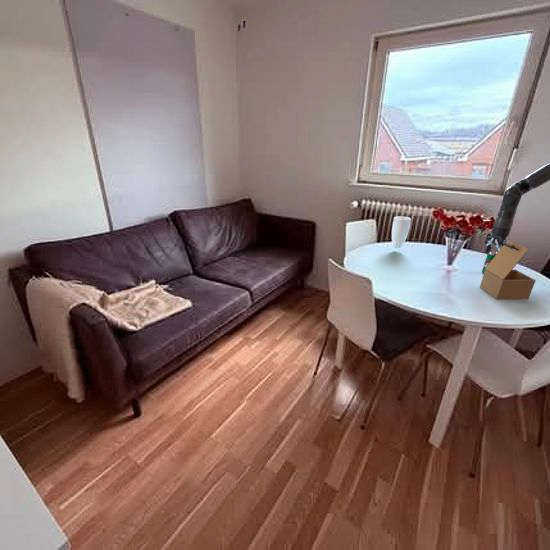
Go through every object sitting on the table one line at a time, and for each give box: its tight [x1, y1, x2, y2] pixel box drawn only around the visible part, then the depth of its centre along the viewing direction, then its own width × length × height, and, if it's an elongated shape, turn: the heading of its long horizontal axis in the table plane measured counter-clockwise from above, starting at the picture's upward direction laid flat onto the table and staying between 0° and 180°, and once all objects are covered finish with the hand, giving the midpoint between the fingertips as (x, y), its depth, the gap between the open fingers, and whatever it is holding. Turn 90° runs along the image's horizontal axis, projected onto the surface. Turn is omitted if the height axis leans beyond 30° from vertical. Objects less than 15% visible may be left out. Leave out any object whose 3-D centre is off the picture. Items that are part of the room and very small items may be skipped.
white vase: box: [391, 215, 412, 249], centre depth 193 cm, size 10×10×22 cm
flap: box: [485, 239, 530, 280], centre depth 139 cm, size 16×12×5 cm
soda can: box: [481, 250, 498, 275], centre depth 165 cm, size 5×5×12 cm
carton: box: [479, 269, 537, 300], centre depth 144 cm, size 15×12×10 cm
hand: (492, 255), depth 163 cm, fingers open, 8 cm apart
